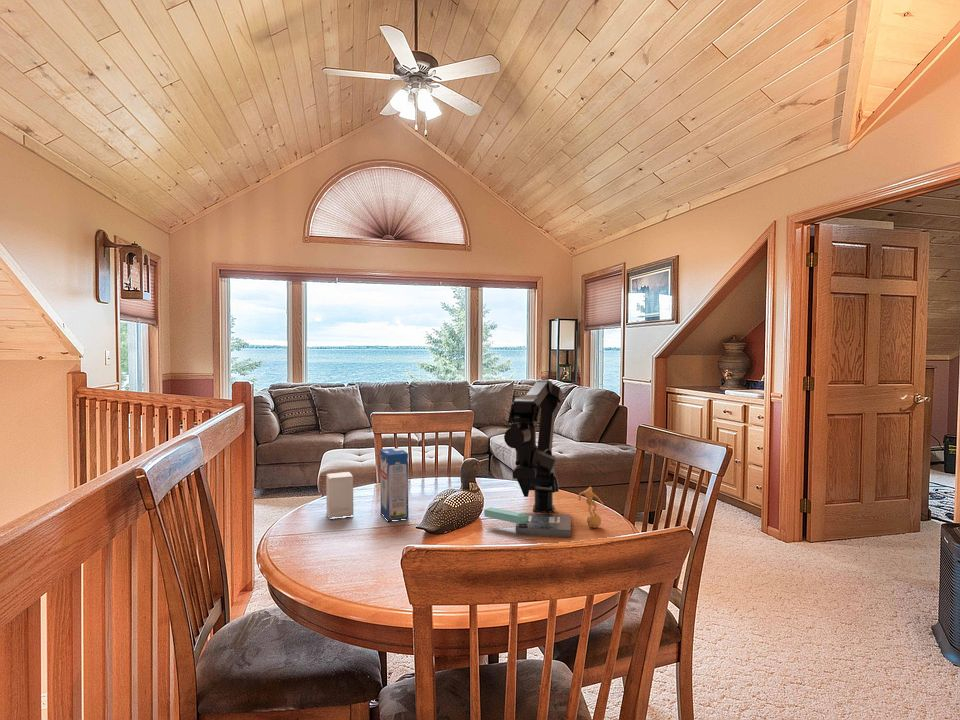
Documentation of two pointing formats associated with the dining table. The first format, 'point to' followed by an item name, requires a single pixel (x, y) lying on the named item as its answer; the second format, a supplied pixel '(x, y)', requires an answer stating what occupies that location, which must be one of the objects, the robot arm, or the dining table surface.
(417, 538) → the dining table surface
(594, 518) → the figurine
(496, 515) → the swing bar
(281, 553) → the dining table surface
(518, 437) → the robot arm
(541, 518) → the server tray
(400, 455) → the milk carton
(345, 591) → the dining table surface
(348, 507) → the supplement box
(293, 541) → the dining table surface
